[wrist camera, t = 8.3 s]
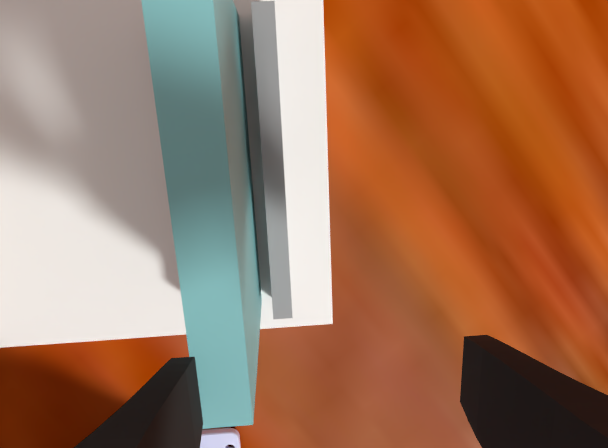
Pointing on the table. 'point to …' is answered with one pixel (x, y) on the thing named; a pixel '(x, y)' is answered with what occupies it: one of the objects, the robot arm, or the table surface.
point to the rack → (146, 171)
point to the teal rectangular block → (209, 195)
